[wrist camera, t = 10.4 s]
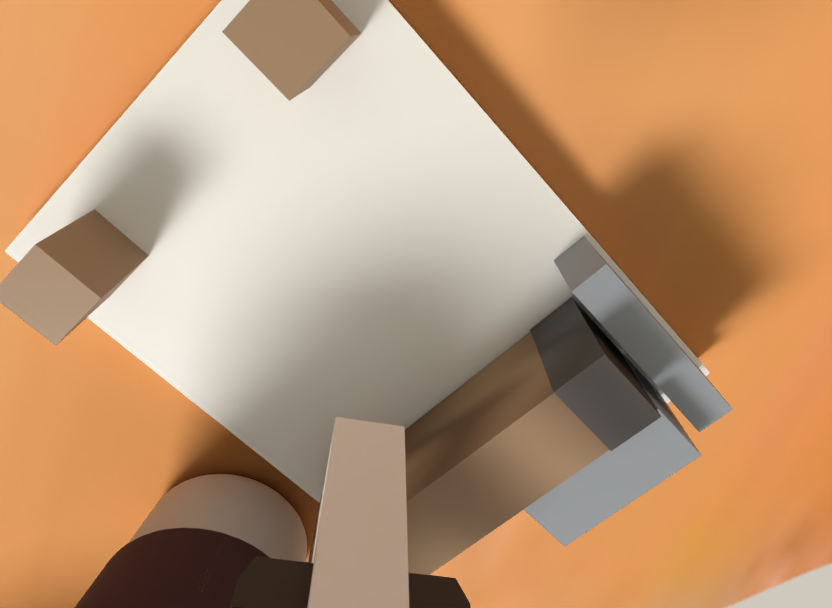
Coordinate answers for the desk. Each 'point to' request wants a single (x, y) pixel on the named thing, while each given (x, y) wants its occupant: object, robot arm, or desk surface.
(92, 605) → the coffee cup
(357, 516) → the robot arm
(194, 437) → the desk surface
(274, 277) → the board
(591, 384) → the leg
